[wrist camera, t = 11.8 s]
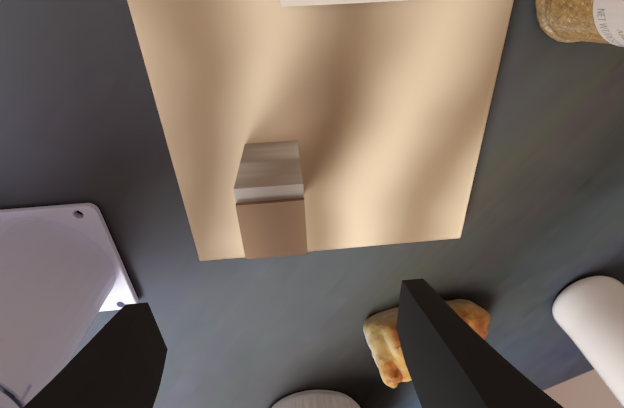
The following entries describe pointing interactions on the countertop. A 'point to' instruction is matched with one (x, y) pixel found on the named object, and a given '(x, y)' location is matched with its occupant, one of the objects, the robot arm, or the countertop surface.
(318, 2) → the tile
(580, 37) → the sprinkles bottle
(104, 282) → the robot arm
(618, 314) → the drinking glass
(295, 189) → the tan wooden block
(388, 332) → the pastry
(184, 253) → the countertop surface
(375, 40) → the board
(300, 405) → the ramekin
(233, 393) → the countertop surface
